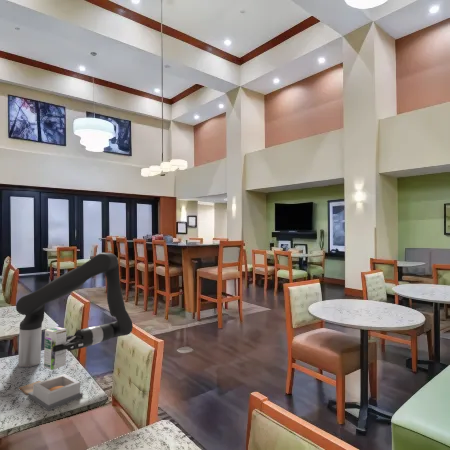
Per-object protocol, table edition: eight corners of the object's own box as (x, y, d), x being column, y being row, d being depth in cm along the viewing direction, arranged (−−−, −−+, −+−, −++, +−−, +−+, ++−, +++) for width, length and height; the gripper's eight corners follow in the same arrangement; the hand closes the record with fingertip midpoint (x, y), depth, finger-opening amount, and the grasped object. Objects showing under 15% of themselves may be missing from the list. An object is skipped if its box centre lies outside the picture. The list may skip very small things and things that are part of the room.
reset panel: (27, 396, 127) (28, 382, 127) (61, 384, 137) (61, 371, 137) (48, 410, 117) (48, 395, 117) (82, 396, 128) (82, 382, 128)
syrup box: (43, 367, 127) (43, 329, 127) (57, 362, 132) (58, 325, 132) (52, 370, 124) (53, 332, 124) (66, 365, 129) (67, 328, 129)
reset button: (44, 396, 126) (45, 389, 126) (60, 390, 131) (60, 384, 131) (52, 401, 122) (52, 394, 122) (68, 395, 127) (68, 388, 127)
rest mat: (18, 389, 133) (18, 387, 133) (39, 382, 139) (39, 380, 139) (27, 395, 128) (27, 393, 128) (48, 387, 134) (48, 386, 134)
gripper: (80, 324, 144) (40, 333, 130) (99, 331, 135) (58, 341, 122) (79, 341, 144) (39, 352, 130) (98, 349, 135) (57, 362, 121)
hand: (48, 347), depth 126 cm, fingers closed on syrup box, 6 cm apart
